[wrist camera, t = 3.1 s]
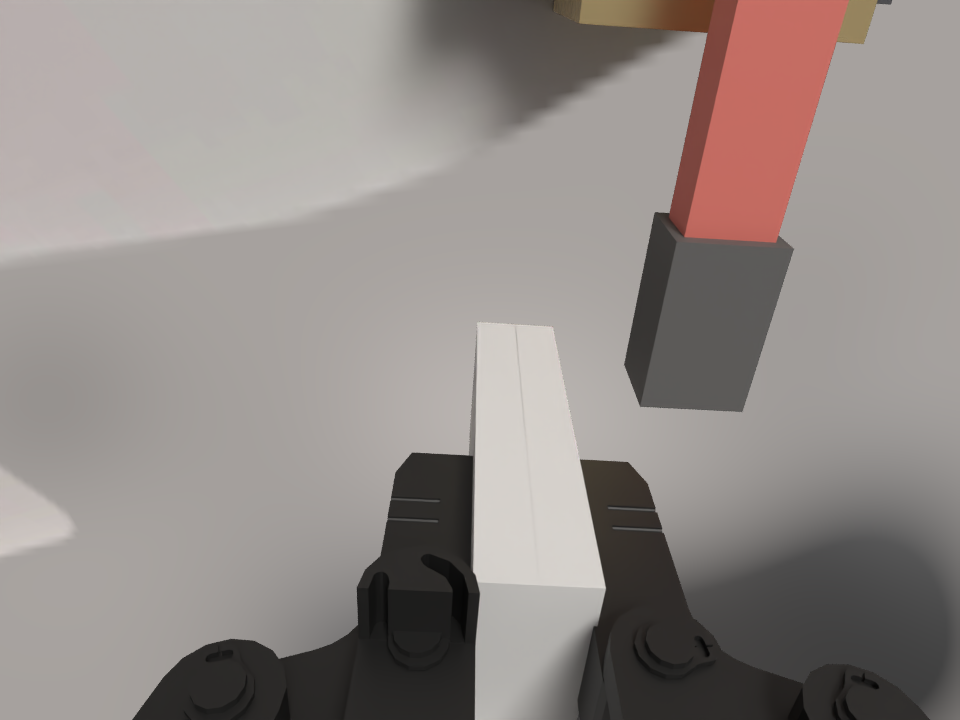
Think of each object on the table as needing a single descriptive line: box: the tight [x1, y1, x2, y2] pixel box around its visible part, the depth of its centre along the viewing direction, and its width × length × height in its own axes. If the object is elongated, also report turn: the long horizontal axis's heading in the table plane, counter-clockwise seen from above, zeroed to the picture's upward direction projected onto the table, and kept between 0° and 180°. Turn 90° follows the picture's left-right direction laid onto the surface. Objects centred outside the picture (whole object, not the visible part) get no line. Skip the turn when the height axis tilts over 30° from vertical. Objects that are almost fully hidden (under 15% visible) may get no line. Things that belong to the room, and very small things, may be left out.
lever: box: [624, 0, 849, 412], centre depth 17 cm, size 15×4×2 cm, turn 176°
